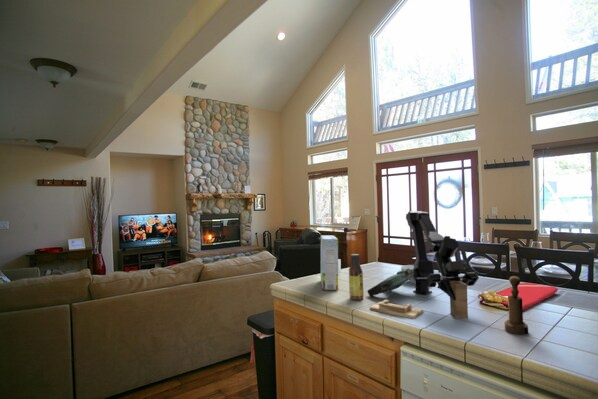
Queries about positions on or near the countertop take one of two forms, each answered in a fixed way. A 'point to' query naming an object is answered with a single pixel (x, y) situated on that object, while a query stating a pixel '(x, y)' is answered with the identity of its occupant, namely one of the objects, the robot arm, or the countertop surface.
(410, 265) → the chinaware
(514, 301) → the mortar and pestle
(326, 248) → the snack box
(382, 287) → the teal curved piece
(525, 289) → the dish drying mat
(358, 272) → the sauce bottle
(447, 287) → the robot arm
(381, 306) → the oak base board
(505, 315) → the countertop surface
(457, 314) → the walnut board piece
